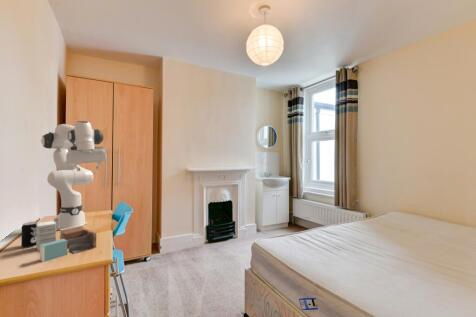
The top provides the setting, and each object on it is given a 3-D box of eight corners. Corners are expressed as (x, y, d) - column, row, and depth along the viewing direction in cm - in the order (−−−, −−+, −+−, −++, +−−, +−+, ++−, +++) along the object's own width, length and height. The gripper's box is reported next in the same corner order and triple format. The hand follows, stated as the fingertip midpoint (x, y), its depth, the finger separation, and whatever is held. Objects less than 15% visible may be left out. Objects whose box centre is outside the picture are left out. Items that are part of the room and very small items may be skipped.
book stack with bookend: (59, 246, 117) (59, 229, 117) (81, 240, 125) (81, 224, 125) (73, 254, 107) (73, 235, 107) (96, 247, 115) (96, 230, 115)
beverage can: (26, 248, 114) (26, 225, 114) (18, 246, 116) (18, 224, 116) (41, 244, 120) (41, 222, 120) (33, 242, 122) (33, 220, 122)
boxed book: (39, 259, 101) (39, 244, 101) (63, 253, 109) (63, 238, 109) (42, 262, 99) (42, 246, 99) (67, 255, 106) (67, 240, 106)
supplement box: (35, 247, 115) (36, 223, 116) (54, 243, 121) (54, 220, 121) (37, 251, 110) (37, 226, 110) (56, 247, 116) (56, 223, 116)
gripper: (105, 147, 142) (107, 168, 141) (64, 149, 129) (67, 172, 129) (106, 145, 137) (108, 167, 136) (64, 147, 124) (67, 172, 124)
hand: (88, 170), depth 133 cm, fingers open, 8 cm apart
